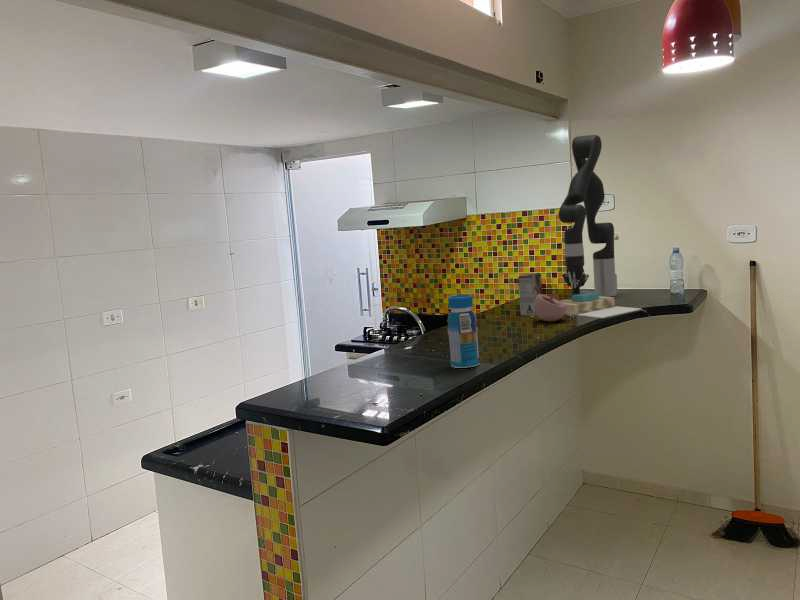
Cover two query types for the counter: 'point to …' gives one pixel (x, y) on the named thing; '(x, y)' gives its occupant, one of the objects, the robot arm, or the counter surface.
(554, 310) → the mortar and pestle
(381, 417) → the counter surface
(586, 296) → the teal tile
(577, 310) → the oak deck
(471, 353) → the beverage bottle
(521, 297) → the coffee box
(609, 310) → the white flat panel
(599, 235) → the robot arm
